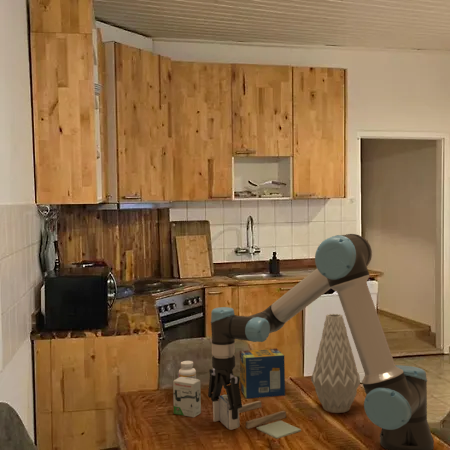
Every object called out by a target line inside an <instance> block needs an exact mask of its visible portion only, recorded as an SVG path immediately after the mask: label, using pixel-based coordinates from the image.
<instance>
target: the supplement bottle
mask: <svg viewBox="0 0 450 450" xmlns="http://www.w3.org/2000/svg"><path fill="white" fill-rule="evenodd" d="M179 377H187V378H193V379H197V370H196V368H194V361H193V360H184V361H181V362H180V368H179V370H178V378H179Z"/></svg>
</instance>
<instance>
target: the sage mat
mask: <svg viewBox="0 0 450 450" xmlns="http://www.w3.org/2000/svg"><path fill="white" fill-rule="evenodd" d="M256 430H258V431H260V432H262V433H264V434H266V435H268V436H270V437H272V438H275V439H278V440H279V439H281V438H284V437H287V436H290V435H293V434H296V433H299V432H301V431H302V429H301V428H299V427H296V426H294V425H291V424H290V423H287V422H285V421H283V420H281V419H279V420H276V421H273V422H269V423H266V424H263V425H259V426H256Z"/></svg>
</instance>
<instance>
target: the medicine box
mask: <svg viewBox="0 0 450 450" xmlns="http://www.w3.org/2000/svg"><path fill="white" fill-rule="evenodd" d="M229 409H230V404H229V401H228V397H227V394H223V395H221V394H220V396H219V419H220V420H219V421H220V422H221V424H222V425H223V426H224V427H226V429H228V430H230V429H229ZM240 426H241V425H240V413H239V408H238V418H237V428H240Z"/></svg>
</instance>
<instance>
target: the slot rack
mask: <svg viewBox="0 0 450 450" xmlns="http://www.w3.org/2000/svg"><path fill="white" fill-rule="evenodd" d="M259 408H262V400H256V401H252V402H249V403H245V404H242V408H239V414H240V413H244V412H248V411H253V410H256V409H259ZM286 418H287V411H286V410H281V411H277V412H274V413H271V414H268V415H264V416H261V417H256V418H254V419H253V418H252V419H251V420H247V421H245V428H246V429H247V430H249V429H253V428H255V427H256V428H257V427H260V426H263V425H266V424H270V423H273V422H276V421H280V420H281V419H286ZM262 424H263V425H262Z"/></svg>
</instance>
